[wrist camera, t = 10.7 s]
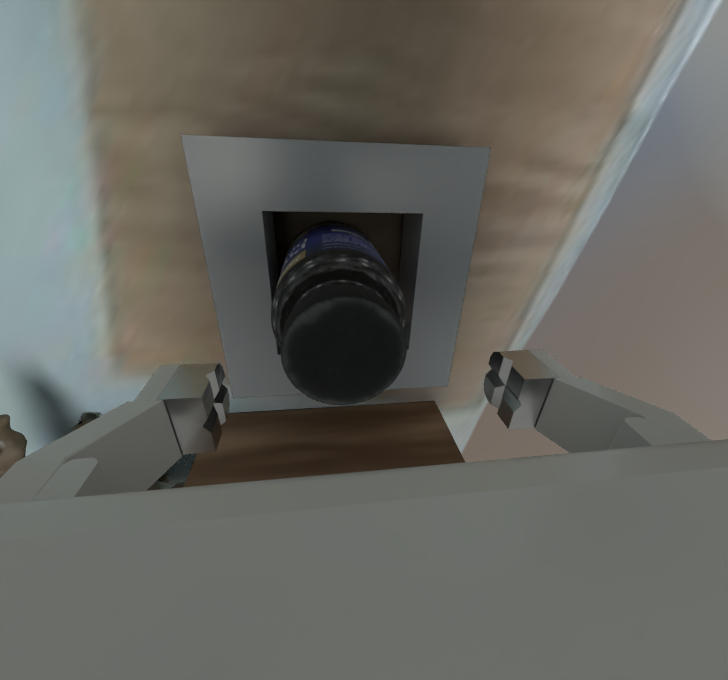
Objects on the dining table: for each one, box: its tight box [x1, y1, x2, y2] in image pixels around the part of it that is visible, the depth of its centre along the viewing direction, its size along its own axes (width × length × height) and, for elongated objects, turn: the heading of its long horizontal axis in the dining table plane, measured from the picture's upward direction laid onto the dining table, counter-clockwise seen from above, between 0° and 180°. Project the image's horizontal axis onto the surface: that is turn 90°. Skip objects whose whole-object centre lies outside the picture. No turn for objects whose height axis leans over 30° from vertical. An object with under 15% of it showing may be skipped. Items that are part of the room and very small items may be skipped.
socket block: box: [181, 135, 491, 398], centre depth 20 cm, size 14×14×4 cm
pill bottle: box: [271, 222, 407, 405], centre depth 17 cm, size 6×6×11 cm
